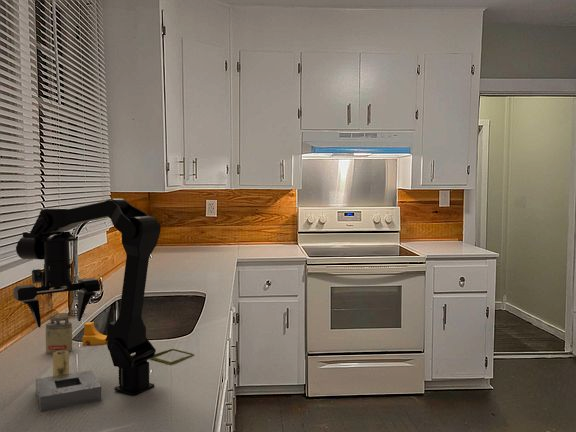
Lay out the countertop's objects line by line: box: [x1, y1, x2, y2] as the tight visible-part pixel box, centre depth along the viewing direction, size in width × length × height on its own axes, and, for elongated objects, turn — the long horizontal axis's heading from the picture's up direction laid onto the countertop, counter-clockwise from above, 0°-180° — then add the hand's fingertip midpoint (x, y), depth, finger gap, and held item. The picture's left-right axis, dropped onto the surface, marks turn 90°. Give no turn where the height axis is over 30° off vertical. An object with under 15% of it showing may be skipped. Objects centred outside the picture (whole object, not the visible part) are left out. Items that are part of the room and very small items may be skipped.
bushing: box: [52, 351, 70, 376], centre depth 125 cm, size 4×4×7 cm
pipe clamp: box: [81, 321, 108, 346], centre depth 155 cm, size 12×4×6 cm, turn 92°
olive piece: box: [150, 348, 195, 365], centre depth 141 cm, size 9×9×2 cm
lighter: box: [45, 315, 73, 354], centre depth 148 cm, size 7×4×10 cm, turn 99°
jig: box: [35, 369, 102, 412], centre depth 116 cm, size 12×12×3 cm
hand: (59, 324), depth 128 cm, fingers open, 9 cm apart
